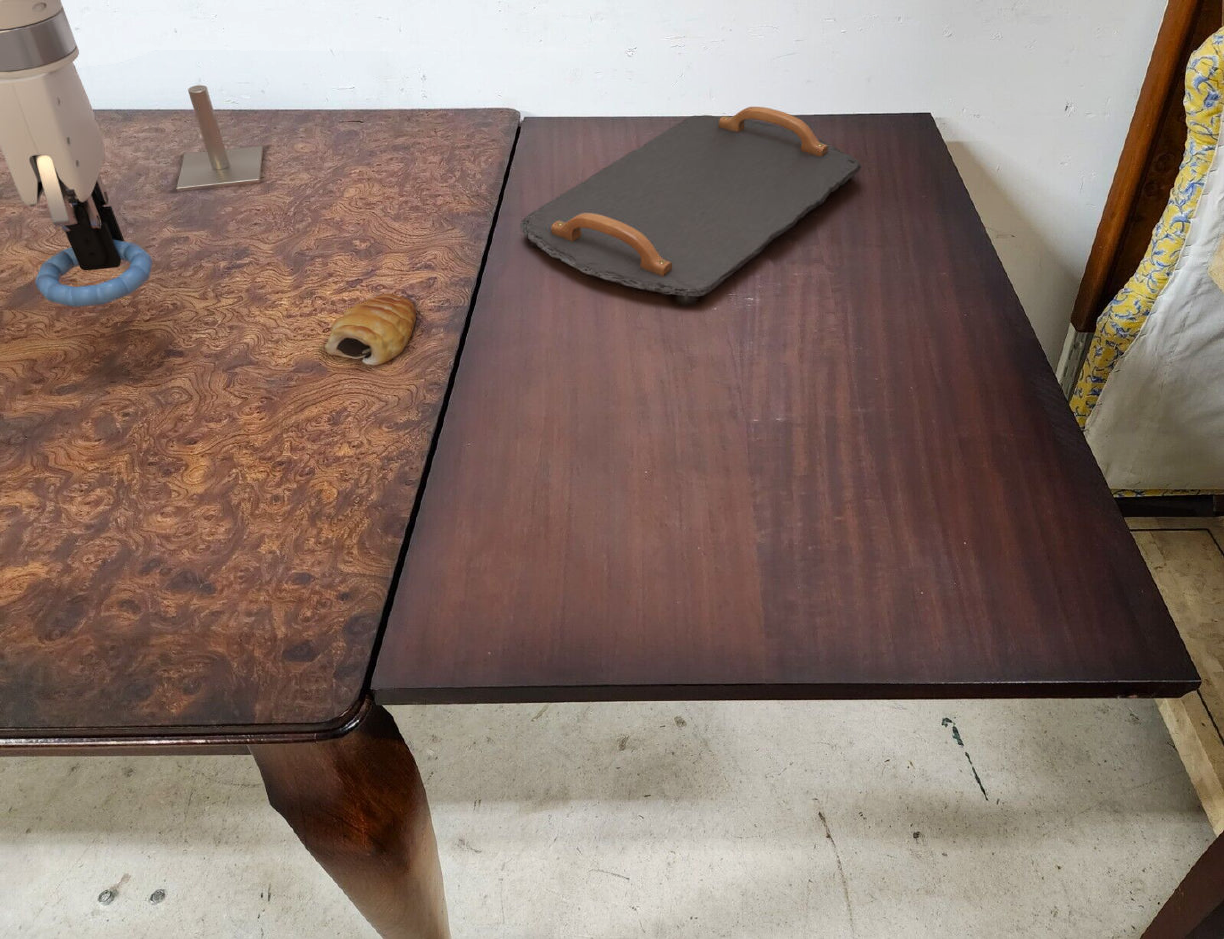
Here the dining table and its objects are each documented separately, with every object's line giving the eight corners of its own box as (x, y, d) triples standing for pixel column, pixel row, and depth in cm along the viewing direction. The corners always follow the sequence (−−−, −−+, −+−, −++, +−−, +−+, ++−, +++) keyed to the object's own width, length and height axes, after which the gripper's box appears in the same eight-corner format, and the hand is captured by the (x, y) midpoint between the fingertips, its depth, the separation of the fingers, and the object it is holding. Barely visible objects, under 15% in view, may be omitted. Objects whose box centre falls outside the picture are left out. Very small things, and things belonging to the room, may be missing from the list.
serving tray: (705, 127, 122) (708, 77, 118) (875, 177, 112) (884, 124, 107) (497, 258, 100) (491, 202, 95) (685, 336, 89) (688, 277, 85)
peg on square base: (179, 197, 110) (149, 108, 103) (187, 162, 116) (159, 76, 109) (261, 189, 111) (237, 100, 104) (265, 154, 118) (242, 69, 111)
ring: (31, 315, 78) (23, 298, 77) (52, 258, 84) (45, 242, 83) (146, 303, 80) (140, 286, 78) (159, 248, 86) (154, 232, 85)
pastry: (370, 306, 93) (363, 271, 91) (435, 317, 92) (430, 282, 89) (322, 363, 87) (313, 327, 84) (392, 376, 85) (385, 340, 83)
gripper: (-12, 6, 77) (74, 218, 89) (-70, 86, 65) (39, 315, 78) (89, 0, 78) (160, 210, 91) (50, 77, 67) (138, 304, 79)
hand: (104, 257), depth 84 cm, fingers closed on ring, 2 cm apart
